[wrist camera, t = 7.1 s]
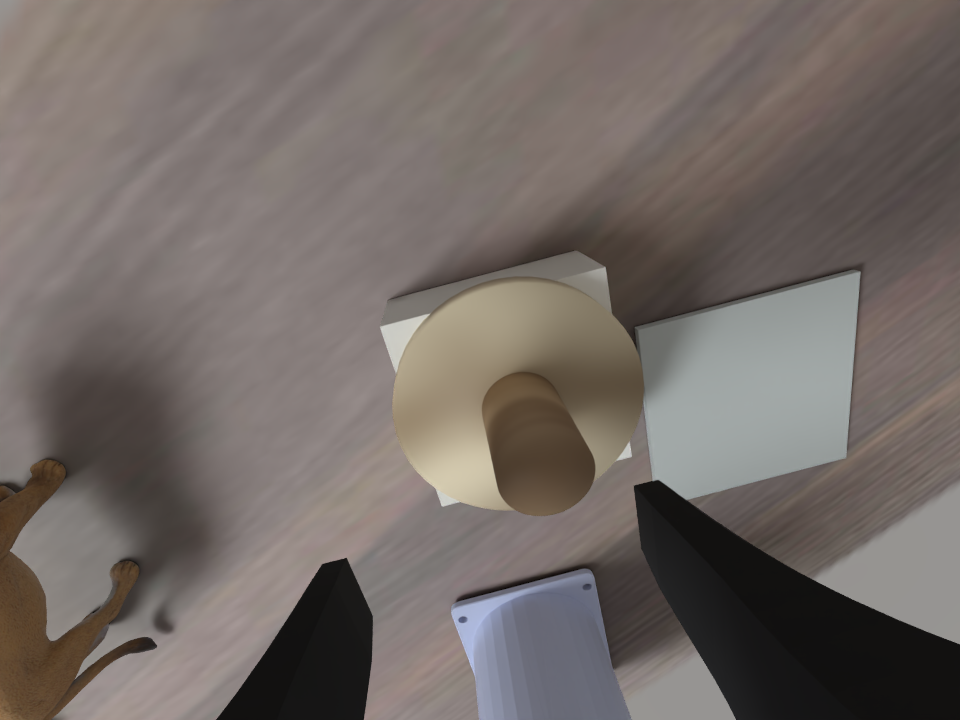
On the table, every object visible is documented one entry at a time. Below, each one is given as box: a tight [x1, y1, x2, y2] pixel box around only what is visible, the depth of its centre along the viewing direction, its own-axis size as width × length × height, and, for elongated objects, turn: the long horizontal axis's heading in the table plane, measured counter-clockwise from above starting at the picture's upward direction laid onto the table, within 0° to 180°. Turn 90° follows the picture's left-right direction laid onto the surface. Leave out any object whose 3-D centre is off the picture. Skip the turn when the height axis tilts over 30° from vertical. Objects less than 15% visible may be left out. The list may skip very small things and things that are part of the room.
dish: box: [380, 250, 632, 507], centre depth 19 cm, size 8×8×4 cm
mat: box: [634, 270, 861, 500], centre depth 23 cm, size 10×10×1 cm
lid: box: [392, 276, 644, 516], centre depth 16 cm, size 9×9×5 cm
